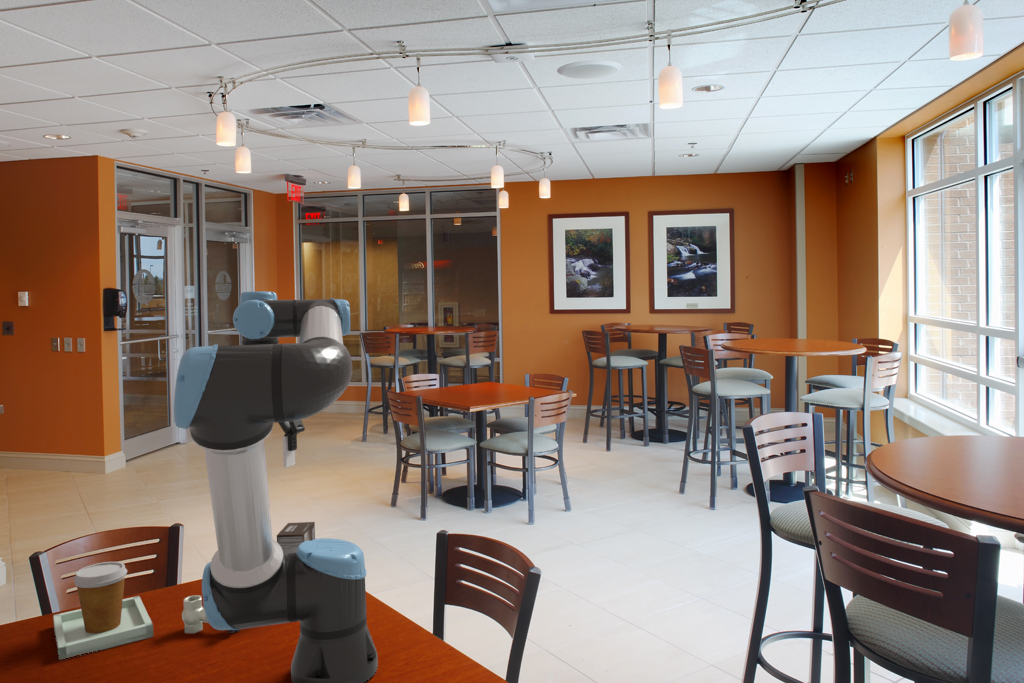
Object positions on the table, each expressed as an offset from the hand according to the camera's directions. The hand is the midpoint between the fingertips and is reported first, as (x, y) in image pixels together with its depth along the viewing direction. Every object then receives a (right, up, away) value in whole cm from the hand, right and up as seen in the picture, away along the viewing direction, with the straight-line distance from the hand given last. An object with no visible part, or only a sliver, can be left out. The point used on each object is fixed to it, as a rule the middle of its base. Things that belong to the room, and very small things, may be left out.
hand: (264, 463), depth 149 cm
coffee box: (+4, -32, +10) cm, 34 cm away
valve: (-9, -34, -6) cm, 35 cm away
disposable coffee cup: (-31, -33, -5) cm, 46 cm away
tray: (-31, -34, -5) cm, 46 cm away
